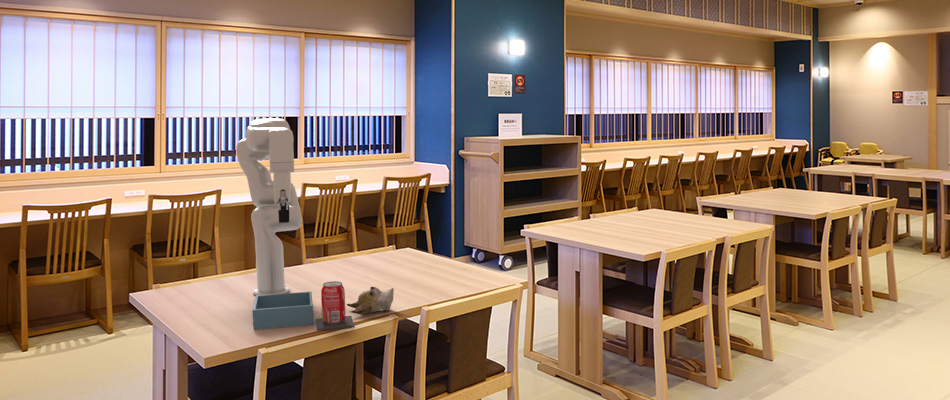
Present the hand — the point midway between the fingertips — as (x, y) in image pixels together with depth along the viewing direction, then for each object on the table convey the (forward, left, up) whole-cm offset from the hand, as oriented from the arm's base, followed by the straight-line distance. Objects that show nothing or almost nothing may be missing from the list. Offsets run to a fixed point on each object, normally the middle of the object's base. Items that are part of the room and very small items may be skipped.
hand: (284, 220), depth 222 cm
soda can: (+20, +14, -30) cm, 38 cm away
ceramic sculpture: (+10, +26, -30) cm, 41 cm away
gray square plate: (+20, +14, -30) cm, 39 cm away
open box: (+10, -1, -30) cm, 32 cm away
